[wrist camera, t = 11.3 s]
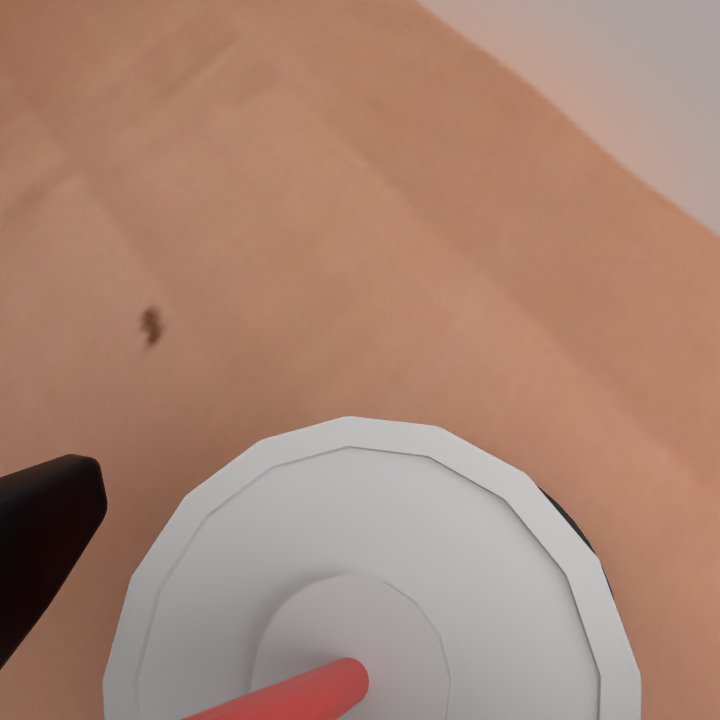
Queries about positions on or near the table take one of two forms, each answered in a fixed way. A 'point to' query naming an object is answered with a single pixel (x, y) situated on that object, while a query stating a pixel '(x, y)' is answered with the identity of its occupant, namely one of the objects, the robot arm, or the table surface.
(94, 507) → the robot arm
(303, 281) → the table surface
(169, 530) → the beverage cup
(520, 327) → the table surface
